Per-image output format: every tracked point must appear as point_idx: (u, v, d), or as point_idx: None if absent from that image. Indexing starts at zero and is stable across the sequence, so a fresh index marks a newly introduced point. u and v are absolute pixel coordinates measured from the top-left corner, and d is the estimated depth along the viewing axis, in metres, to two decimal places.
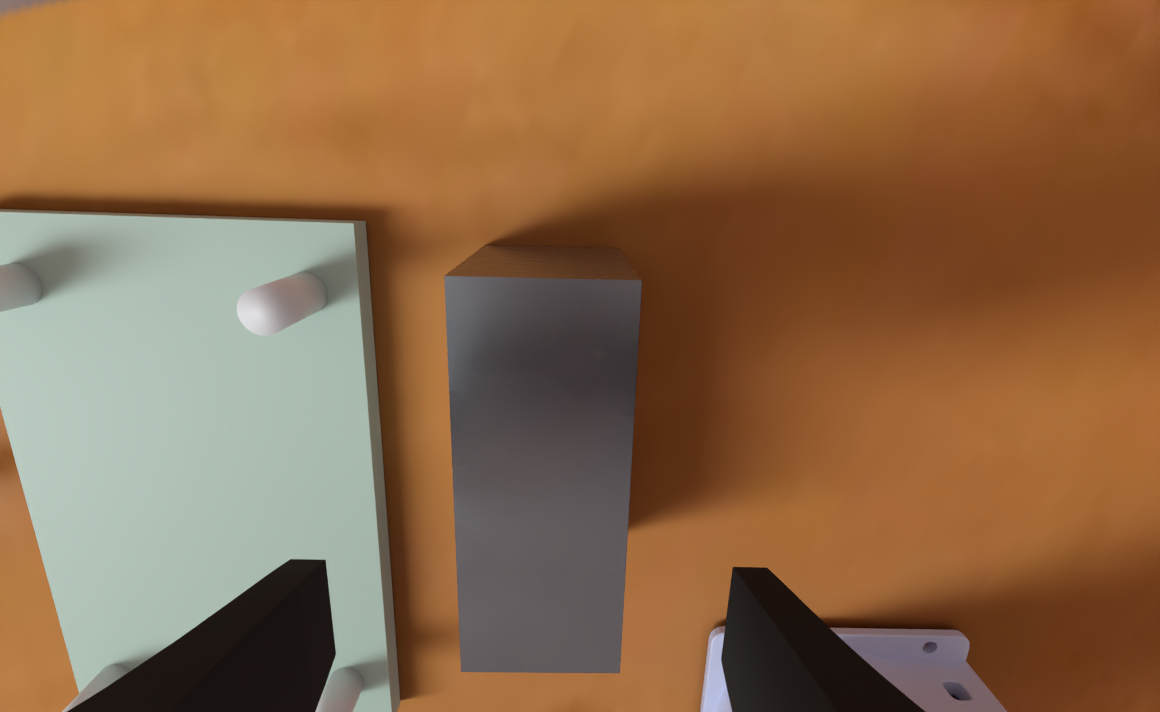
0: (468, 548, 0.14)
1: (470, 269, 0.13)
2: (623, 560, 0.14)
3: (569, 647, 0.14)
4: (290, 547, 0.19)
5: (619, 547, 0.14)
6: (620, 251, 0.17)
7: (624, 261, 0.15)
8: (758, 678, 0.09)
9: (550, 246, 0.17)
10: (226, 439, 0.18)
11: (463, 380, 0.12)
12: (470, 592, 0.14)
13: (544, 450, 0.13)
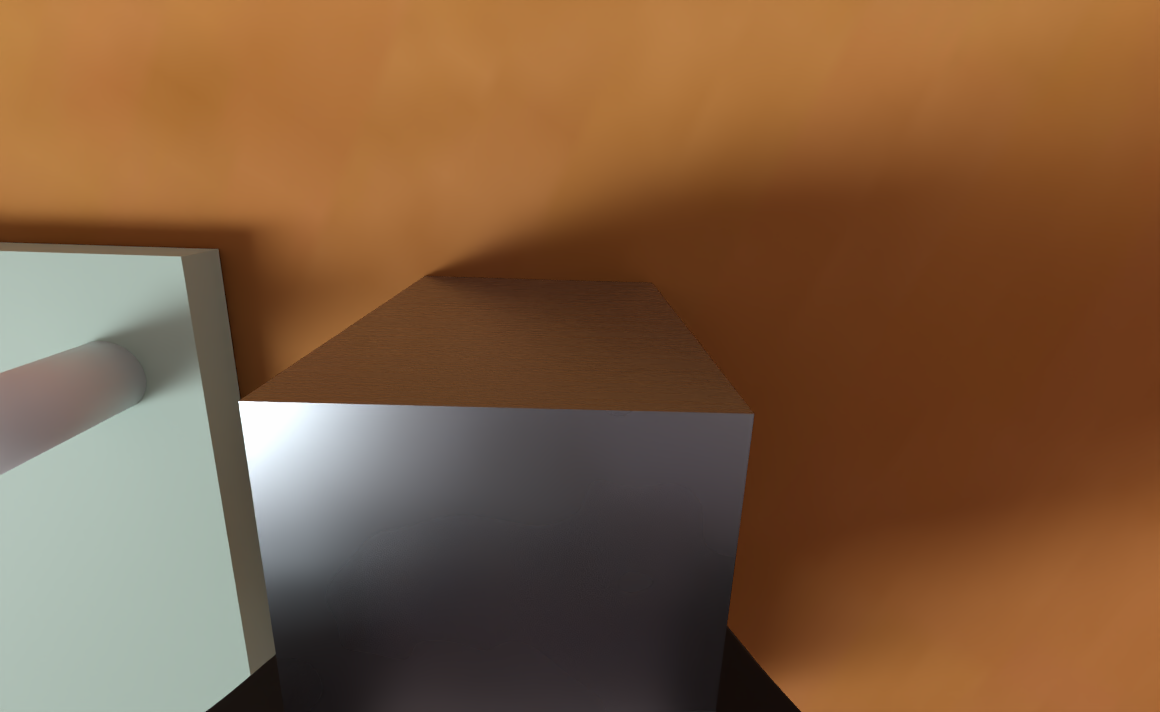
0: None
1: (335, 364, 0.05)
2: None
3: None
4: None
5: None
6: (658, 293, 0.09)
7: (677, 325, 0.07)
8: None
9: (535, 280, 0.10)
10: (0, 608, 0.11)
11: (308, 638, 0.05)
12: None
13: None
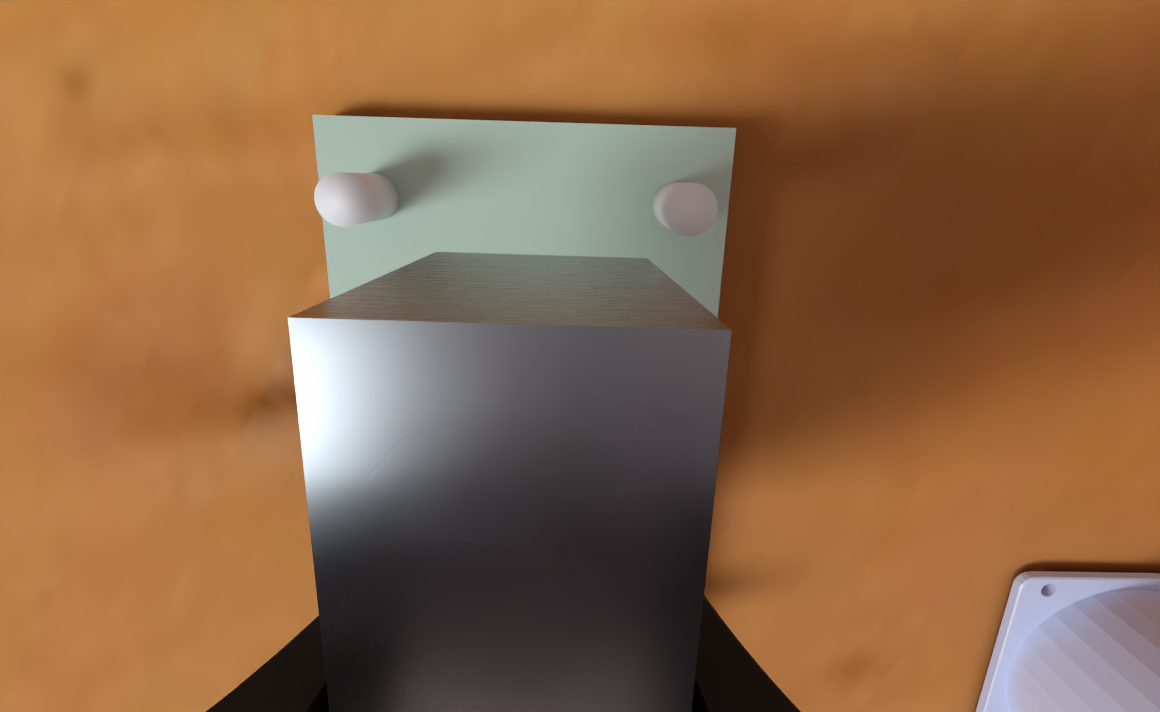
0: None
1: (365, 299, 0.06)
2: None
3: None
4: None
5: None
6: (653, 264, 0.10)
7: (668, 282, 0.08)
8: None
9: (539, 255, 0.11)
10: None
11: (341, 537, 0.06)
12: None
13: (515, 670, 0.06)
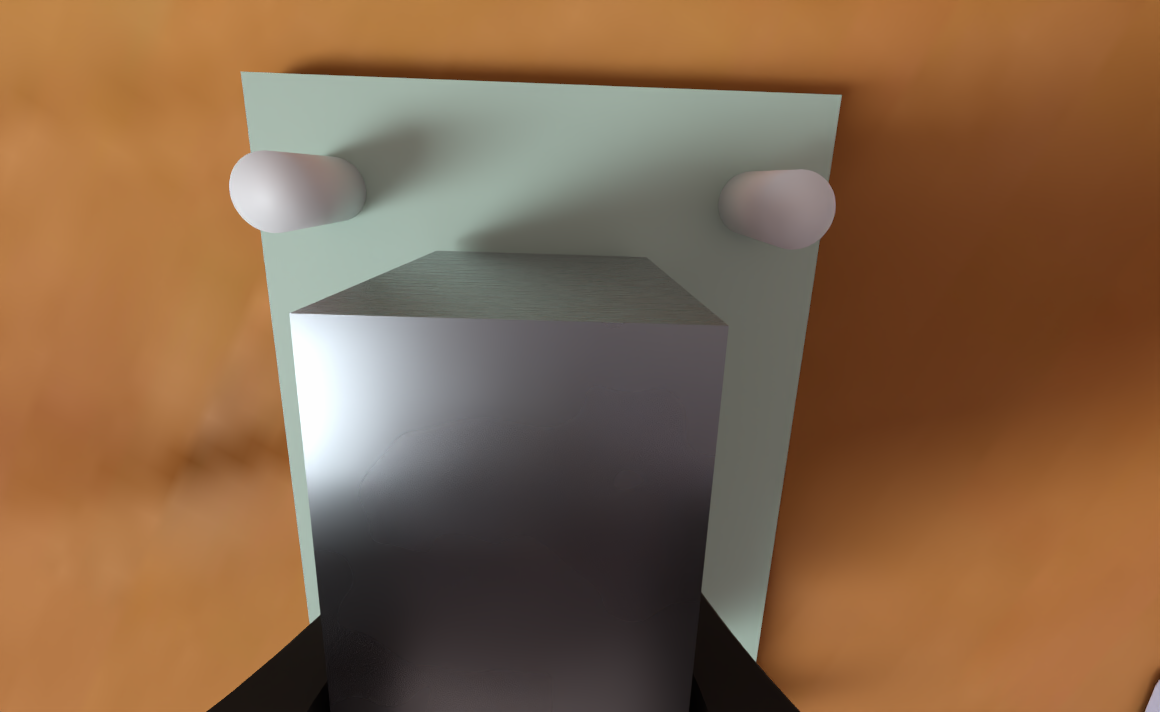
0: None
1: (366, 296, 0.06)
2: None
3: None
4: None
5: None
6: (652, 263, 0.10)
7: (667, 280, 0.08)
8: None
9: (538, 254, 0.11)
10: None
11: (342, 531, 0.06)
12: None
13: (515, 664, 0.06)
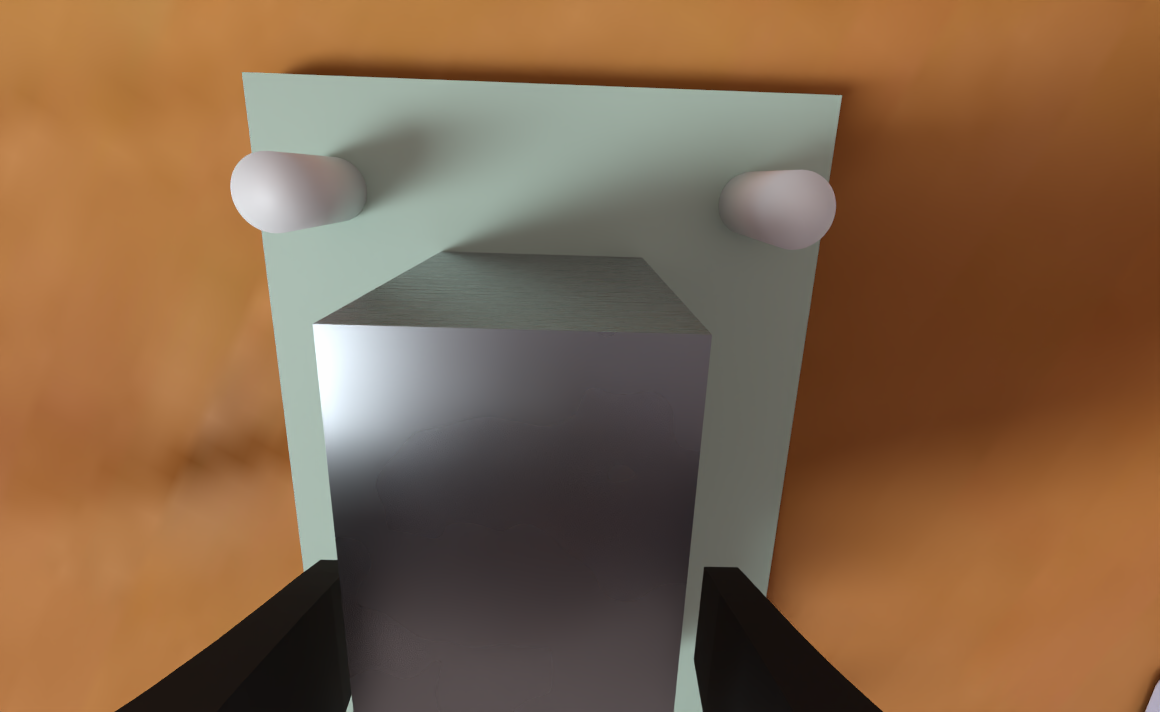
0: None
1: (380, 305, 0.07)
2: None
3: None
4: None
5: None
6: (647, 264, 0.11)
7: (660, 284, 0.09)
8: (725, 677, 0.09)
9: (538, 255, 0.11)
10: None
11: (360, 520, 0.06)
12: None
13: (518, 640, 0.07)
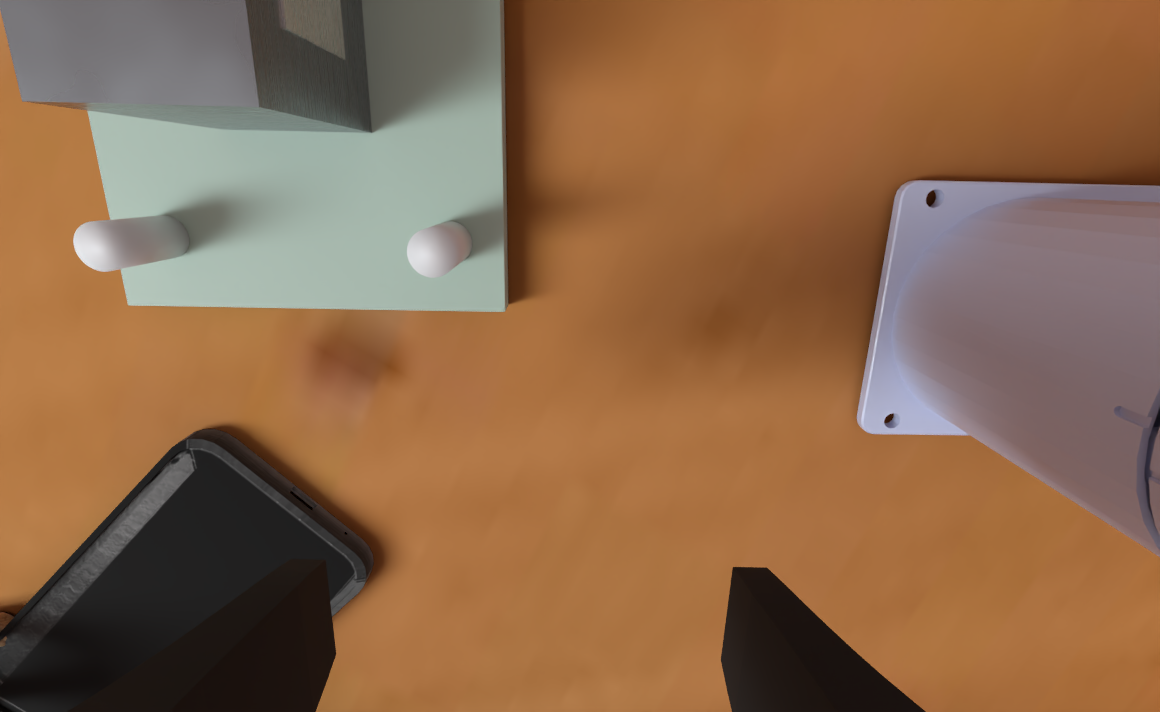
0: None
1: None
2: None
3: (174, 55, 0.10)
4: (388, 24, 0.15)
5: None
6: None
7: None
8: (758, 678, 0.09)
9: None
10: None
11: None
12: None
13: None
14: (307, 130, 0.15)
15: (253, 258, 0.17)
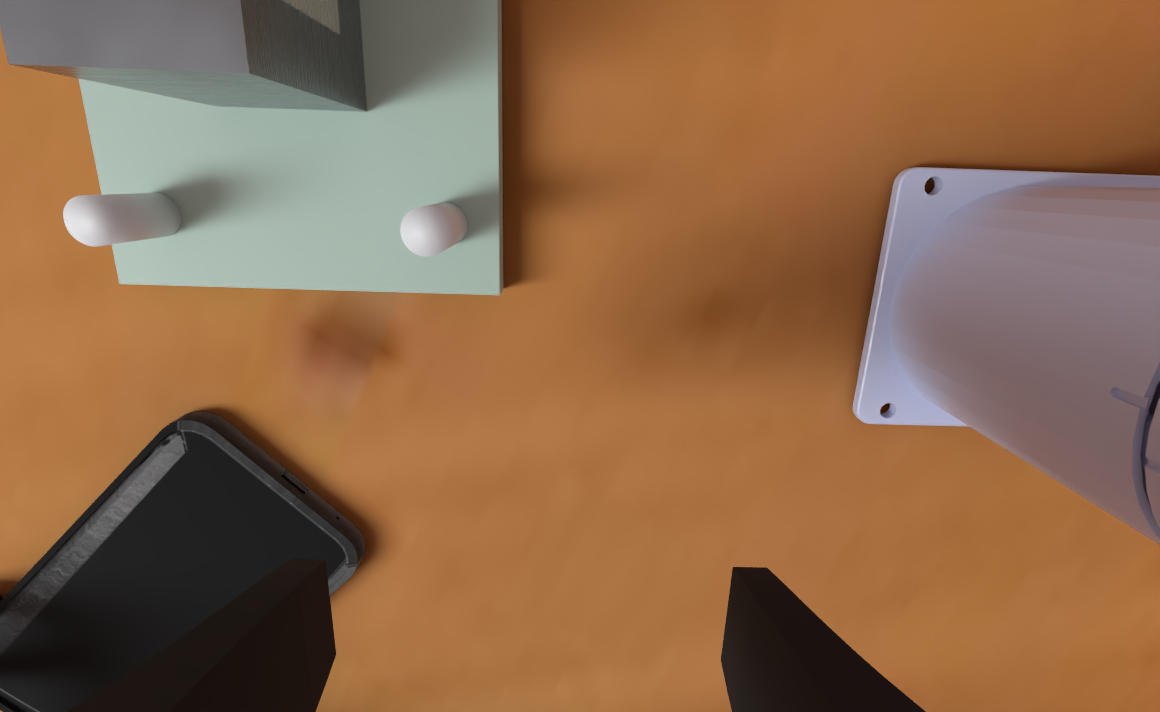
0: None
1: None
2: None
3: (163, 18, 0.10)
4: (384, 2, 0.15)
5: None
6: None
7: None
8: (758, 678, 0.09)
9: None
10: None
11: None
12: None
13: None
14: (301, 108, 0.15)
15: (246, 237, 0.17)
